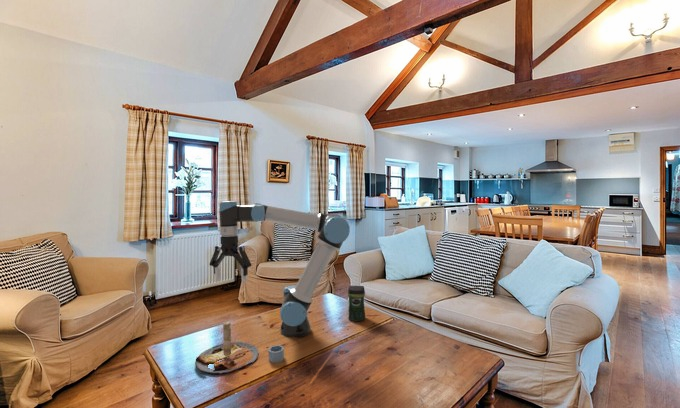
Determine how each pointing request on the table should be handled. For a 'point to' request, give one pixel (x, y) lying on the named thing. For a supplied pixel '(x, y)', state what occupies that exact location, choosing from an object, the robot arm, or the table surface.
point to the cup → (276, 353)
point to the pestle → (227, 338)
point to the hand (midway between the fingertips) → (230, 281)
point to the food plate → (222, 357)
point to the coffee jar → (356, 303)
